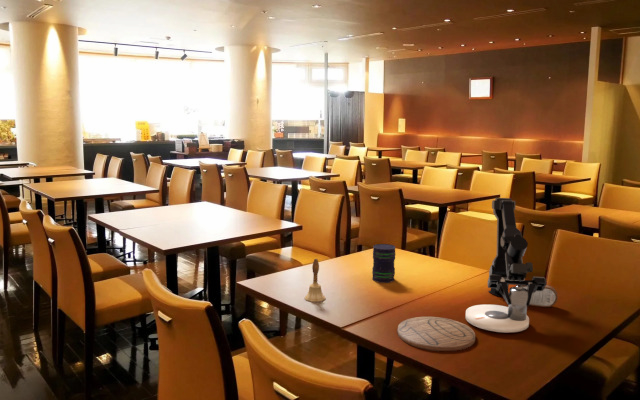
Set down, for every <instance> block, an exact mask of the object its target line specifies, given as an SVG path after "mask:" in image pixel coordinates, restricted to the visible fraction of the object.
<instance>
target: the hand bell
mask: <svg viewBox="0 0 640 400" xmlns="http://www.w3.org/2000/svg"><path fill="white" fill-rule="evenodd" d="M311 268H312V273H313V274H312V275H313V280H312V283H311V284H310V285H309V288H308V292H307V294H306V295H305V296H304V300H305V301H307V302H312V303H316V302H318V303H319V302H323V301H326V296H325V295H324V294H323V292H322V286H321V284H319V283H318V282H319V281H318V274H319V270H320V264H319V260H318V258H314V259H313V261H312V267H311Z"/></svg>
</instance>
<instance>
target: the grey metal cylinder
mask: <svg viewBox="0 0 640 400" xmlns="http://www.w3.org/2000/svg"><path fill="white" fill-rule="evenodd" d="M508 292H509V301H510V304H509V305H508V304H507V305H508V306H507V307H508V318H510V319H512V320H516V321H524V320H526V315H527V312H528V311H527V310H528V305H527V302H528V290H527V289H525V288H523V286H521V285H515V286H512V287H510V288H509V291H508Z"/></svg>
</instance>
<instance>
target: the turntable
mask: <svg viewBox="0 0 640 400" xmlns="http://www.w3.org/2000/svg"><path fill="white" fill-rule="evenodd" d="M465 320H466V321H467V322H468V324H470V325H472V326H474V327H477V328H479V329H482V330H485V331H490V332H496V333H519V332H523V331H526V330H527V329H528V328H529V326H530V318H529V316H528V315H527V314H526V320H524V321H516V320H512V319H510V318H508V306H505V305H501V304H500V305H499V304H476V305H472V306H470V307H468V308H466V310H465Z"/></svg>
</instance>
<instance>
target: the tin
mask: <svg viewBox="0 0 640 400" xmlns="http://www.w3.org/2000/svg"><path fill="white" fill-rule="evenodd" d="M521 286H523V288H525V289H527V288H528V286H526V285H521ZM557 301H558V292H557V290H556V289H555V288H554V287H553V286H552V285H549V284H546V286H545V288H544V290H543V291H536V292H535V293H532V296H531V300H530V304H529V306H533V307H543V308H551V307H553V306H554V305H555V304H556V303H557Z"/></svg>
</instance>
